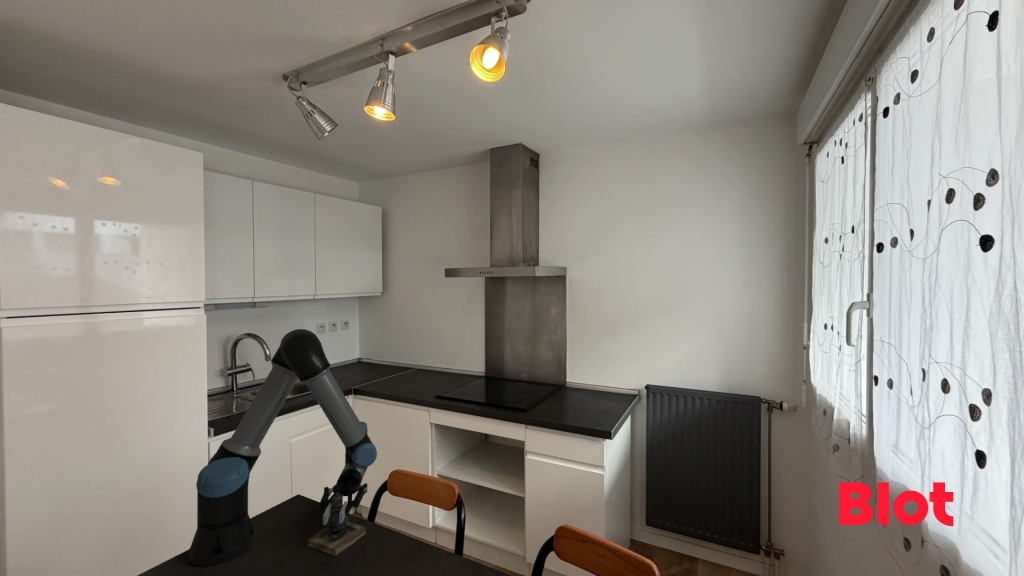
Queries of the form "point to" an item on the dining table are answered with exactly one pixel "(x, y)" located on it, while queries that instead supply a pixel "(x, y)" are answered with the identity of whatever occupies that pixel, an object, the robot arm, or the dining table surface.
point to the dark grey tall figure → (337, 518)
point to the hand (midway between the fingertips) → (332, 519)
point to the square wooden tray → (336, 539)
